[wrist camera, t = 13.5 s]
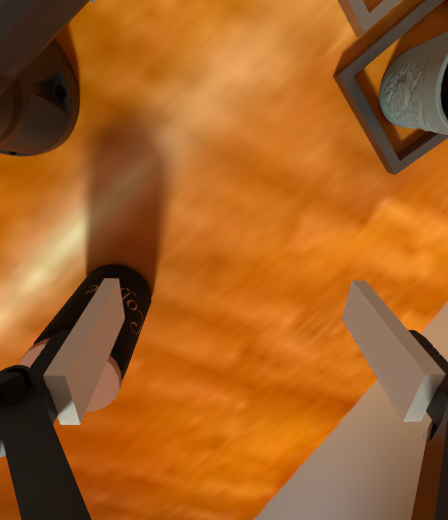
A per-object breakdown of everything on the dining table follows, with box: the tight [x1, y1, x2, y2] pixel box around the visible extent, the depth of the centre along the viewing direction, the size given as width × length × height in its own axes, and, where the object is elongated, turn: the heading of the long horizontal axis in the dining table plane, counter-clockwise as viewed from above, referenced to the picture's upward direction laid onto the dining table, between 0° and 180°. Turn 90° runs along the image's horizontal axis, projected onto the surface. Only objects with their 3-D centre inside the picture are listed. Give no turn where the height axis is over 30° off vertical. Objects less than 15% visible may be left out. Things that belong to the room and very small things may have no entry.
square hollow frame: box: [333, 0, 448, 175], centre depth 35 cm, size 14×14×2 cm
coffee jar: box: [20, 264, 151, 412], centre depth 40 cm, size 11×11×18 cm
